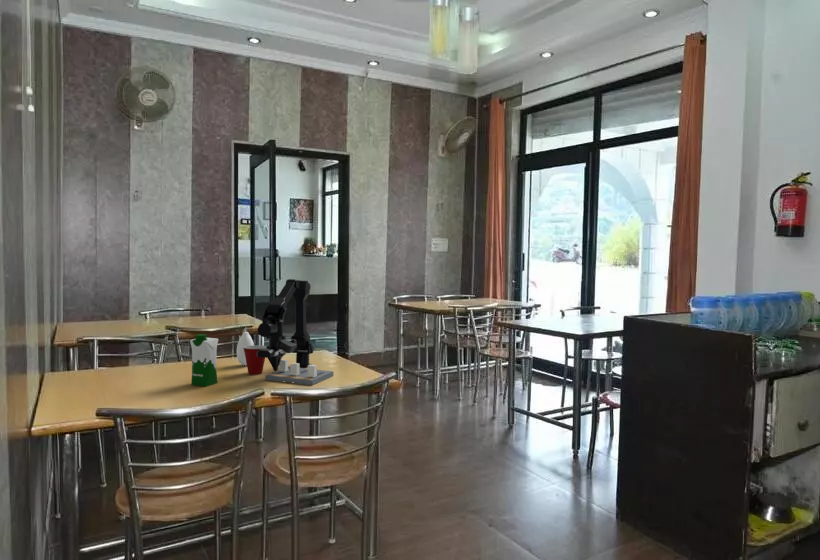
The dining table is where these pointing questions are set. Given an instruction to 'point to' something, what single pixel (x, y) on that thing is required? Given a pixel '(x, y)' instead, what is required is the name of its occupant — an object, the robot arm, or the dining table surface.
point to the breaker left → (312, 371)
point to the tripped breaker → (283, 365)
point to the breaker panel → (299, 376)
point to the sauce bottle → (243, 341)
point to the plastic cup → (254, 359)
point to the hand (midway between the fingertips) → (275, 370)
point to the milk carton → (204, 360)
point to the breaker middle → (295, 369)
